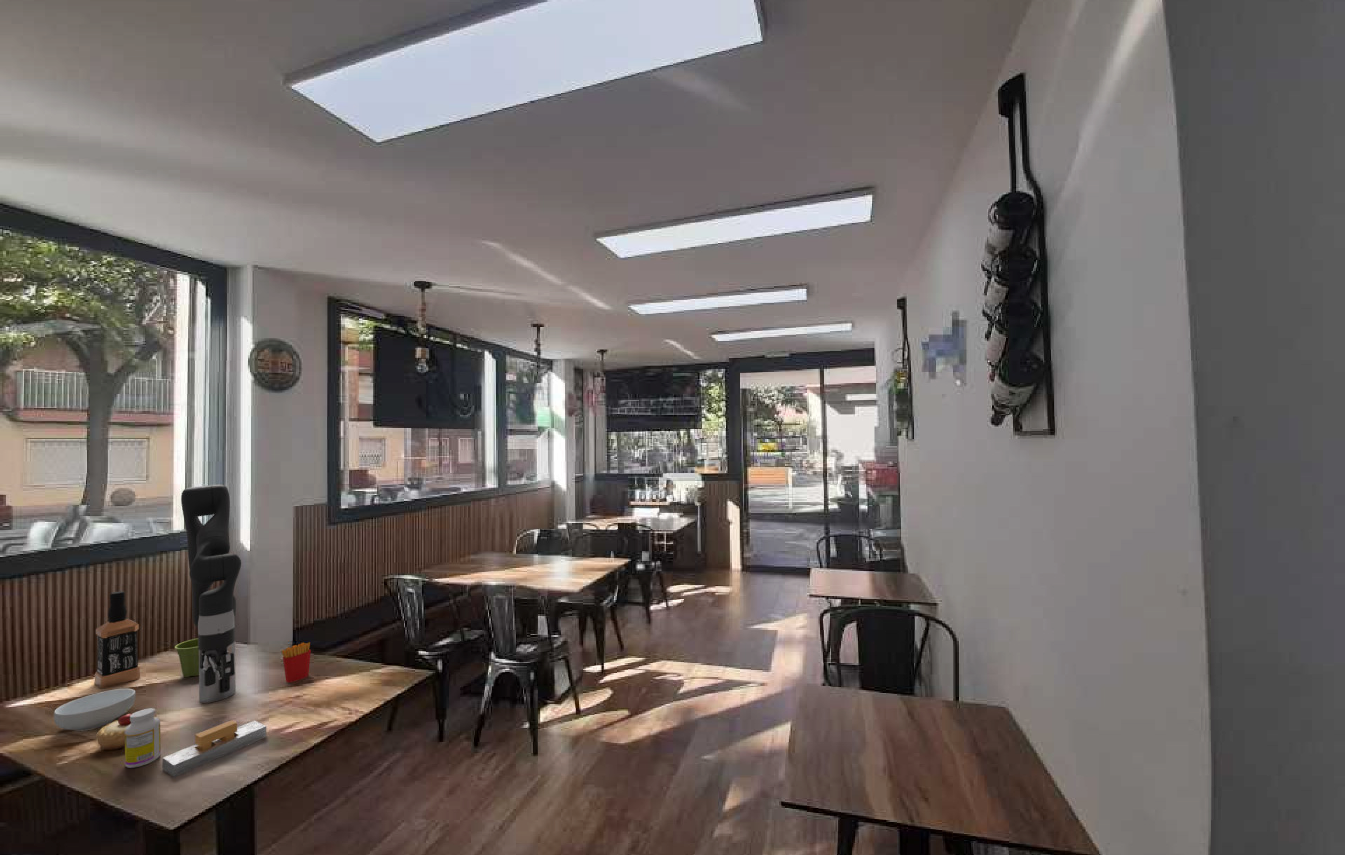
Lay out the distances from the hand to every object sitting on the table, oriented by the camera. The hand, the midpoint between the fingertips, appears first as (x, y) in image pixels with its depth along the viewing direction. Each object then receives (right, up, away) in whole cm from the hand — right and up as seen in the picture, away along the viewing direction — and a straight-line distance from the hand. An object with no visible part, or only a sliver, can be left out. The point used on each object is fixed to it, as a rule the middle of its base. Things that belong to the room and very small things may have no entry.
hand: (217, 688), depth 142 cm
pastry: (-32, -19, +7) cm, 37 cm away
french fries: (-10, -19, +44) cm, 49 cm away
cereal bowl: (-52, -19, +17) cm, 58 cm away
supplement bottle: (-17, -18, -4) cm, 24 cm away
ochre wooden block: (0, -17, 0) cm, 17 cm away
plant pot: (-53, -20, +52) cm, 77 cm away
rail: (0, -17, -1) cm, 17 cm away
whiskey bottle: (-77, -21, +47) cm, 93 cm away
